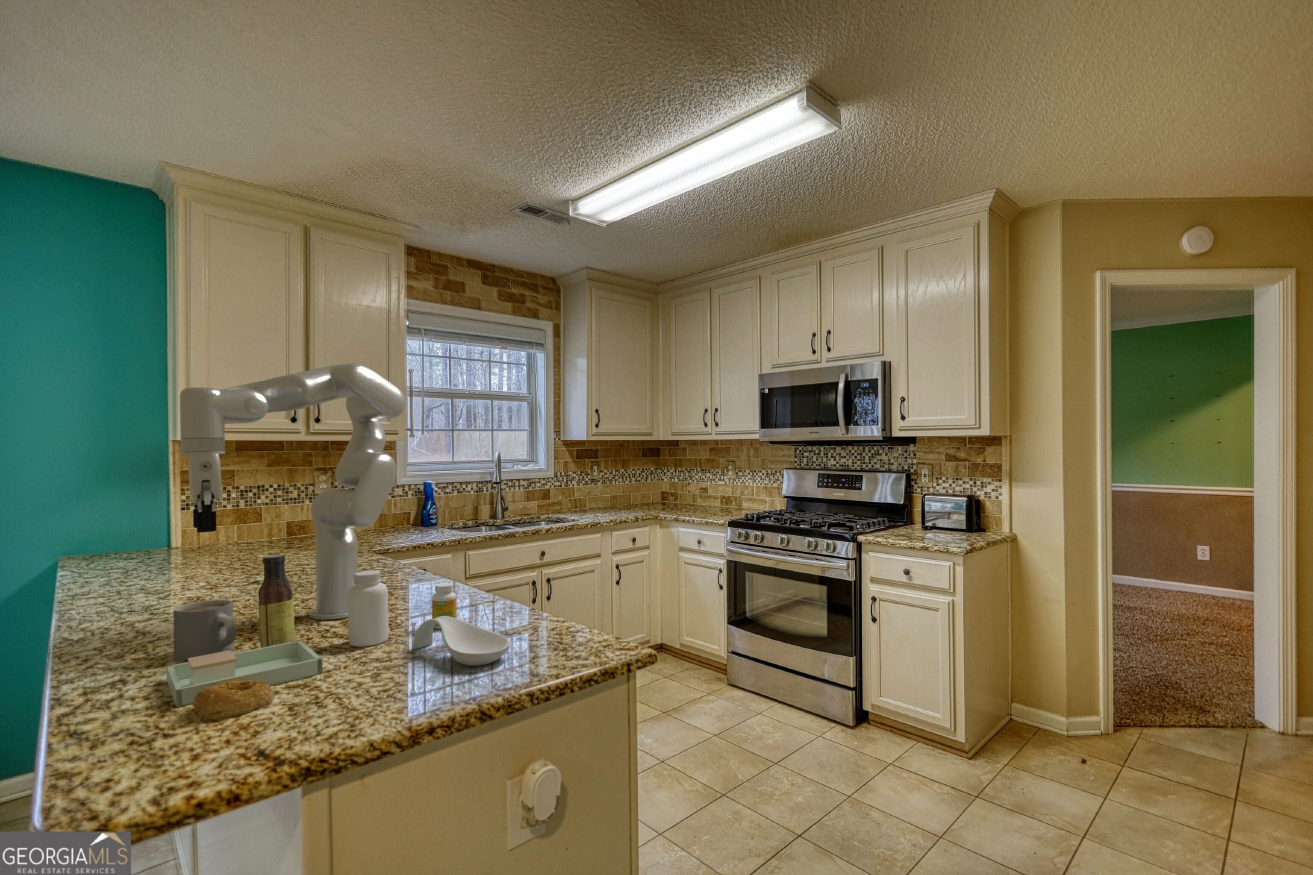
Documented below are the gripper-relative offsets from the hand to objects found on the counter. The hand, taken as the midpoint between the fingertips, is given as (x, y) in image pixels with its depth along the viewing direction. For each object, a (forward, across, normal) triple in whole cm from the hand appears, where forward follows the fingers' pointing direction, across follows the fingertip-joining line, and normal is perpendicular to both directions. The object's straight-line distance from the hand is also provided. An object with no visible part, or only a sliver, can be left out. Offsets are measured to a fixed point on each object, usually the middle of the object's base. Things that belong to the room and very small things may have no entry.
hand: (204, 529), depth 133 cm
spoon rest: (+26, -38, -39) cm, 60 cm away
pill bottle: (+26, -15, -28) cm, 41 cm away
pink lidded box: (+25, -25, +1) cm, 35 cm away
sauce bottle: (+26, -9, -11) cm, 30 cm away
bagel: (+26, -39, -1) cm, 47 cm away
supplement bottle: (+26, -15, -45) cm, 54 cm away
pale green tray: (+26, -24, -4) cm, 36 cm away
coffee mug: (+26, -3, 0) cm, 26 cm away
